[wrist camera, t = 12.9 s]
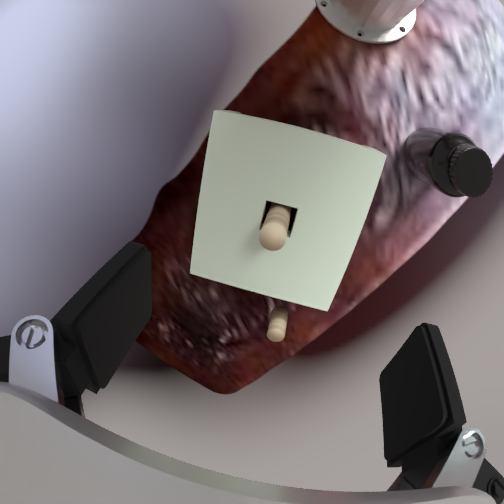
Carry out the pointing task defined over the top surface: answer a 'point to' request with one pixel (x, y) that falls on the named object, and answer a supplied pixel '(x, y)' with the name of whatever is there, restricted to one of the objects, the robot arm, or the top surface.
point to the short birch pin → (277, 324)
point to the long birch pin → (275, 227)
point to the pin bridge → (287, 193)
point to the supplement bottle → (448, 162)
